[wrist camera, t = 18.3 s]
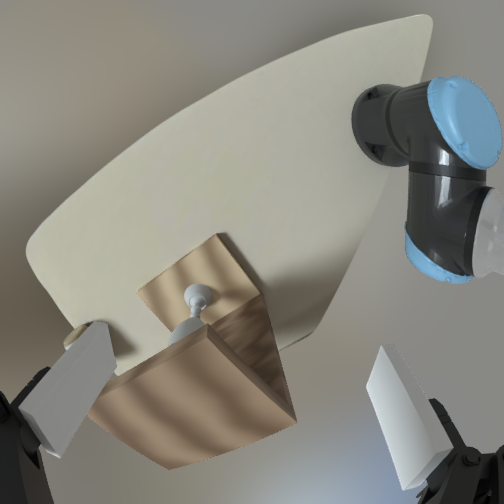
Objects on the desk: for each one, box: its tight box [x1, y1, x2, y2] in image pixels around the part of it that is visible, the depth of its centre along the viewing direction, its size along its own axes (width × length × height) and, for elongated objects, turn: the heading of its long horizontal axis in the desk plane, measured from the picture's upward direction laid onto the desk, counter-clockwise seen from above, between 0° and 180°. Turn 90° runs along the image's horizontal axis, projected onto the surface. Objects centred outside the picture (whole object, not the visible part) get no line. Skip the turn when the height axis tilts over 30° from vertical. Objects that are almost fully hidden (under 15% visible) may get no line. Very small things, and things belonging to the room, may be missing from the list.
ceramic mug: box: [64, 325, 88, 350], centre depth 49 cm, size 11×8×8 cm
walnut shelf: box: [87, 234, 297, 470], centre depth 37 cm, size 18×14×29 cm
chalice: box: [167, 284, 213, 348], centre depth 41 cm, size 7×7×18 cm
